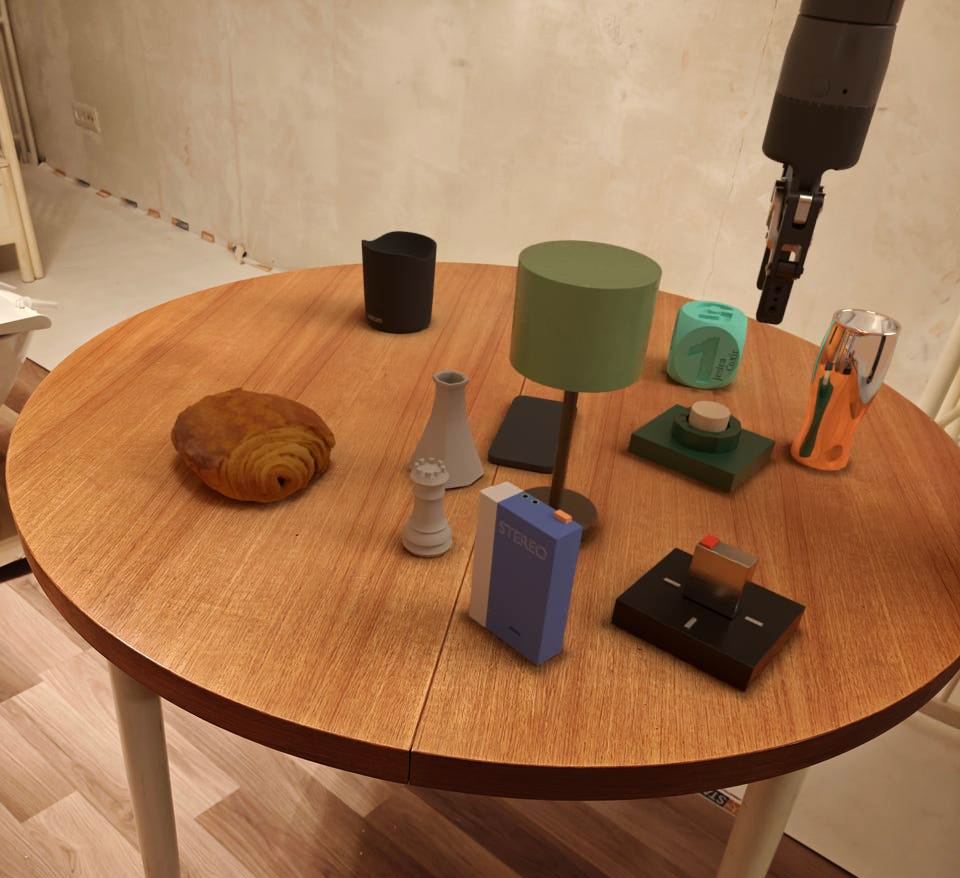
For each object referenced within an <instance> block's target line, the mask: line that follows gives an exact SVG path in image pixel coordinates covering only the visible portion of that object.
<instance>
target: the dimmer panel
mask: <svg viewBox="0 0 960 878" xmlns="http://www.w3.org/2000/svg"><path fill="white" fill-rule="evenodd" d="M692 558H693V554H691V553H689V552H687V551H685V550H684V549H680V548H679V547H674V548H673V549H672V550H671V551H669V552H668V554H666V555H665V556H664V557H663V558H661V560H659V561H658V562H657V563H655V565H653V566H652V567H651V568H650V569H649V570H648V571H646V572H645V573H644V574H643V575H642V576H641V577H640V578H638V579H637V580H636V581H635V582H633V584H631V586H629V587H628V588H627V589H625V591H623V592H622V593H621V594H620V595H618V596H617V597H616V598H615V600H614V606H613V610H612V614H611V620H610V623H611V624H612V625H614V626H616V627H618V628H619V629H622V630H624V631H626V632H628V633H630V634H631V635H633V636H635V637H637V638H639V639H641V640H643V641H645V642H647V643H649V644H651V645H653V646H655V647H657V648H659V650H660V649H661V650H662V651H665V653H668V654H670V655H672V656H674V657H676V658H677V659H680V660H682V661H684V662H686V663H687V664H689V665H692V666H693V667H695V668H697V669H700V670H701V671H703V672H705V673H707V674H709V675H711V676H713V677H715V678H717V679H719V680H721V681H723V682H724V683H726V684H728V685H731V686H732V687H734V688H736V689H737V690H740V691H742V692H744V693H745V692H746V691H748V690H749V688H750V687H751V686H752V685H753V683H754V682H755V681H756V680H757V678H758V677H759V676H760V675H761V674H762V673H763V672H764V670H765V669H766V668H767V666H768V665H769V664H770V663H771V661H773V659H774V658H775V657H776V656H777V655H778V653H779V652H780V651H781V650H782V648H783V647H784V646H785V645H786V644H787V643H788V642H789V640H790V639H791V638H792V636H793V635H794V634H795V633H796V632H797V630H798V629H799V626H800V624H801V621H802V618H803V615H804V613H805V611H806V608H807V606H806V605H804V604H802V603H799V602H797V601H795V600H793V599H791V598H788V597H787V596H784V595H782V594H780V593H778V592H775V591H772V590H771V589H768V588H766V587H765V586H762V585H760V584H758V583H755V582H753V581H751V584H750V587H749V590H748V593H747V596H746V599H745V602H744V605H743V607H742V609H741V610H740V611H739V613H738V614H737V615H736V616H735V617H734V618H733V619H731V618H729V617H727V616H725V615H723V614H721V613H719V612H717V611H714V610H712V609H710V608H708V607H706V606H704V605H702V604H700V603H698V602H696V601H694V600H692V599H689V598H687V597H685V596H683V595H682V594H683V590H684V587H685V583H686V580H687V576H688V572H689V569H690V565H691V562H692Z"/></svg>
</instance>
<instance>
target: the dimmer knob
mask: <svg viewBox="0 0 960 878" xmlns="http://www.w3.org/2000/svg"><path fill="white" fill-rule="evenodd" d="M692 555H693V558H692V562H691V565H690V569H689V572H688V576H687V580H686V583H685V587H684V590H683V594H682V595H683V596H685V597H687V598H689V599H692V600H694V601H696V602H698V603H700V604H702V605H704V606H706V607H708V608H710V609H712V610H714V611H717V612H719V613H721V614H723V615H725V616H727V617H729V618H731V619H733V618H734V617H735V616H736V615H737V614H738V613H739V611H740V610H741V609H742V607H743V605H744V602H745V599H746V596H747V593H748V590H749V587H750V584H751V582H753V577H754V575H755V572H756V569H757V565H758V563H759V560H760V558H759V557H757V556H755V555H752V554H750V553H748V552H746V551H744V550H742V549H739V548H737V547H735V546H733V545H730V544H728V543H726V542H724V541H721V538H719V537H717V536H715V535H713V534H710V533H708V534H707V535H705V536H704V537H702V539H701V540H699V541H698V542H697V543H696V544H695V546H694V550H693V554H692Z"/></svg>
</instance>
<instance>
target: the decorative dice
mask: <svg viewBox="0 0 960 878" xmlns="http://www.w3.org/2000/svg"><path fill="white" fill-rule="evenodd" d="M747 330H748V317H747V315H746V314H745V313H744V312H743V310H741V309H740V308H737V307H736V306H733V305H731V304H727V303H723V302H718V301H713V300H693V301H688V302H685V303H684V304H683V305H681V306H680V307H679V308H678V310H677V312H676V317H675V321H674V325H673V330H672V334H671V340H670V345H669V350H668V357H667V364H666V373H667V374H668V376H669V377H670V378H671V379H672V380H673V381H675V382H677V383H679V384H681V385H683V386H687V387H690V388H694V389H701V390H716V389H721V388H725V387H726V386H728V385H729V384H731V383H732V382H734V381H735V379H736V376H737V373H738V371H739V368H740V365H741V361H742V357H743V353H744V352H743V351H744V348H745V342H746V337H747Z"/></svg>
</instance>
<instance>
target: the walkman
mask: <svg viewBox="0 0 960 878" xmlns="http://www.w3.org/2000/svg"><path fill="white" fill-rule="evenodd" d="M478 496H479V497H478V509H477V519H476V520H477V521H476V522H477V523H476V532H475V536H474V546H473V558H472V559H473V560H472V573H471V586H470V597H469V609H468V616H469V618H471V619H472V620H474V621H475V622H476V623H478V624H479V625H481V626H482V627H484V628H485V629H486V630H488V631H489V632H490V633H492V634H493V635H494V636H496V637H497V638H499V639H500V640H501V641H502V642H504V643H505V644H507V646H509V647H511V648H512V649H513V650H515V651H516V652H518V653H519V654H520V655H521V656H523V657H524V658H526V659H527V660H528V661H530V662H531V663H532V664H534V665H535V666H536V667H538V666H540V665H542V664H543V663H545V662H546V661H549V660H550V659H551V658H553V657H555V656H557V655H558V654H559V653H561V652H562V650H563V646H564V639H565V634H566V628H567V622H568V616H569V610H570V605H571V598H572V593H573V588H574V581H575V575H576V570H577V565H578V560H579V559H578V558H579V553H580V546H581V543H580V541H581V536H582V530H583V526H581V525H580V524H578V523H576V522H575V521H573V520H572V517H571V516H570V515H568V514H566V513H565V512H563V511H561V510H558V511H556V510H555V509H553V508H551V507H550V506H548V505H546V504H545V503H543V502H541V501H540V500H538V499H536V498H535V497H533V496H531V495H530V494H528V493H526V492H525V491H524V490H523V489H521V488H519V487H518V486H516V485H515V484H513V483H511V482H509V481H508V480H506V481H504V482H502V483H499V484H497V485H490V486H487V487H485V488H482V489H481V490H479V495H478Z"/></svg>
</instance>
